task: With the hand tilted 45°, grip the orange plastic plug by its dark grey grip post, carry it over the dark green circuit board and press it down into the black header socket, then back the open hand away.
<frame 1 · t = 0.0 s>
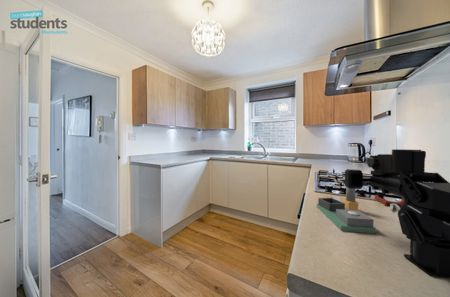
hand: (361, 175, 63), 17 cm above the countertop, tool horizontal, fingers open, 9 cm apart
grey button box: (353, 225, 58), resting on board
board: (340, 217, 64), on the countertop
pliers: (387, 205, 78), on the countertop
plug: (350, 209, 72), on the countertop
header: (330, 211, 70), resting on board
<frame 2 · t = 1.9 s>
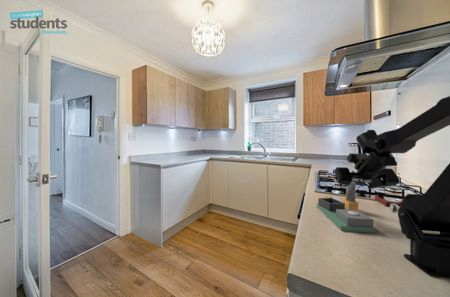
hand: (355, 187, 68), 11 cm above the countertop, tool tilted 45°, fingers open, 9 cm apart
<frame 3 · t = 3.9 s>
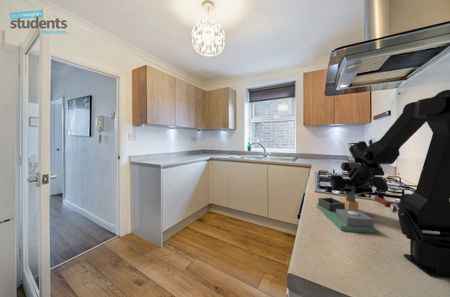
hand: (348, 193, 73), 7 cm above the countertop, tool tilted 45°, fingers closed on plug, 3 cm apart
plug: (350, 209, 72), on the countertop, touching gripper
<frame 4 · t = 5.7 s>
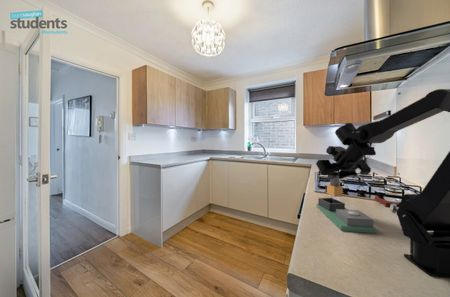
hand: (332, 178, 72), 13 cm above the countertop, tool tilted 45°, fingers closed on plug, 3 cm apart
plug: (334, 195, 70), point 7 cm above the countertop, touching gripper
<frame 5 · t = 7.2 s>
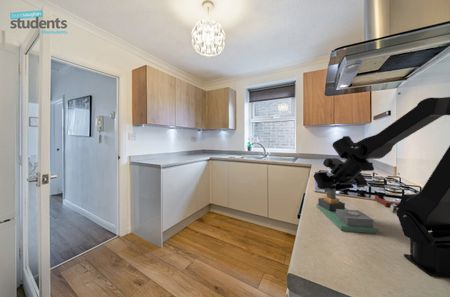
hand: (328, 190, 71), 8 cm above the countertop, tool tilted 45°, fingers closed on plug, 3 cm apart
plug: (331, 206, 70), point 2 cm above the countertop, touching gripper
when the fingers open (8 cm above the countertop, at t = 7.7 s): plug stays where it is, resting on board.
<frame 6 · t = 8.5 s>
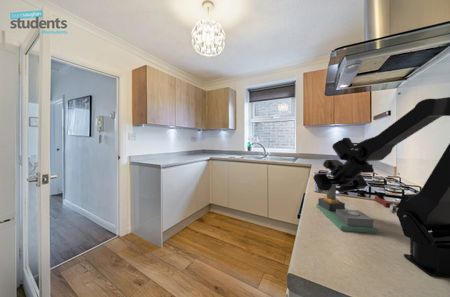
hand: (328, 191, 71), 8 cm above the countertop, tool tilted 45°, fingers open, 9 cm apart
plug: (331, 207, 70), point 1 cm above the countertop, touching board
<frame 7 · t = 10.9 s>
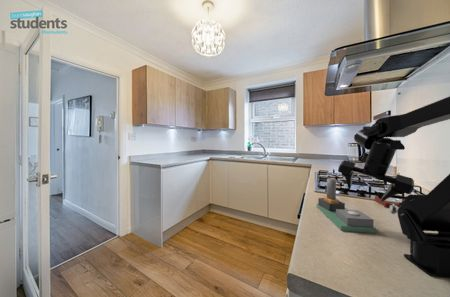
hand: (364, 194, 60), 10 cm above the countertop, tool tilted 25°, fingers open, 9 cm apart
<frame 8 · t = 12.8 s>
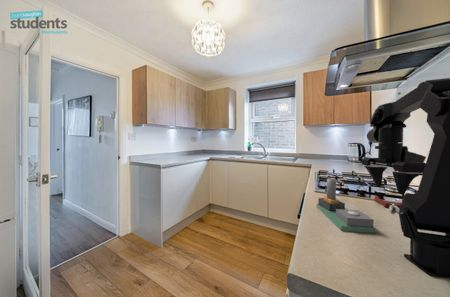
hand: (389, 190, 55), 13 cm above the countertop, tool pointing down, fingers open, 9 cm apart
at the end: plug 0.0 cm off-centre on the header, point 1.5 cm above the header's base; plug tilted 0°; the gripper is holding nothing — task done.
